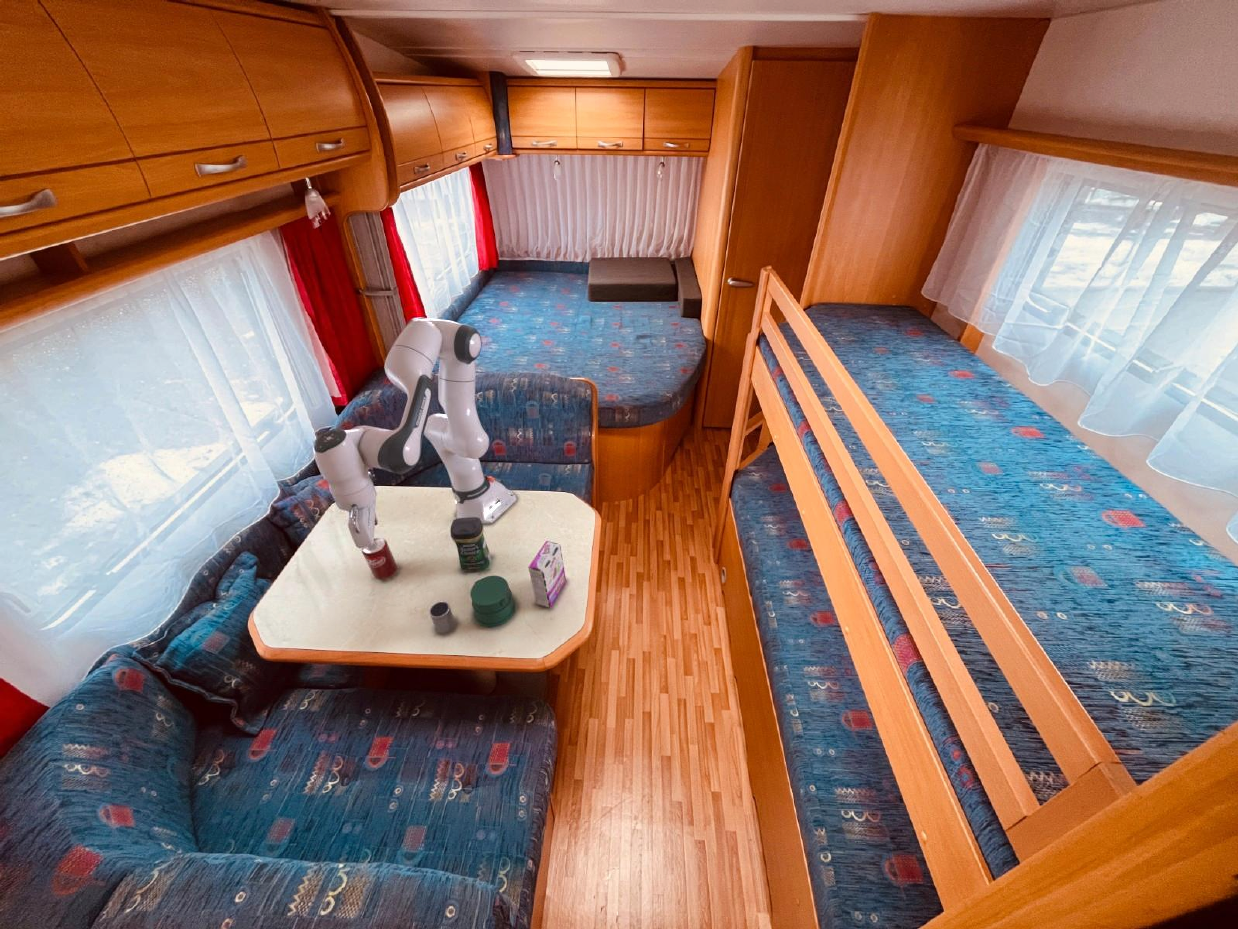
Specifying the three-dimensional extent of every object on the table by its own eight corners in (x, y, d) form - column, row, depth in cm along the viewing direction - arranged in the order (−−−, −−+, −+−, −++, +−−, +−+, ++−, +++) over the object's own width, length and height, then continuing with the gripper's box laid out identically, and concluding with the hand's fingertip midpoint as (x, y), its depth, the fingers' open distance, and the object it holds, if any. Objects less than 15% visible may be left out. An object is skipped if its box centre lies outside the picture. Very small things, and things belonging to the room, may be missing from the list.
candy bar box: (552, 576, 148) (546, 539, 138) (566, 581, 147) (561, 543, 137) (535, 604, 140) (527, 566, 130) (550, 609, 138) (543, 571, 128)
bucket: (497, 587, 145) (492, 567, 140) (524, 606, 139) (519, 586, 134) (465, 613, 138) (458, 593, 133) (492, 635, 132) (486, 615, 126)
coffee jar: (459, 574, 150) (445, 532, 139) (464, 556, 156) (451, 514, 145) (490, 572, 150) (478, 530, 139) (493, 554, 157) (482, 512, 146)
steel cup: (448, 614, 138) (442, 598, 133) (459, 624, 135) (453, 607, 130) (432, 627, 134) (425, 610, 130) (443, 637, 131) (436, 620, 127)
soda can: (389, 582, 148) (376, 555, 141) (369, 579, 149) (355, 552, 142) (402, 565, 154) (391, 538, 147) (382, 562, 155) (370, 535, 148)
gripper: (367, 517, 106) (386, 559, 114) (370, 467, 121) (387, 508, 129) (336, 524, 104) (358, 567, 112) (343, 473, 119) (362, 514, 127)
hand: (374, 535), depth 121 cm, fingers open, 8 cm apart
